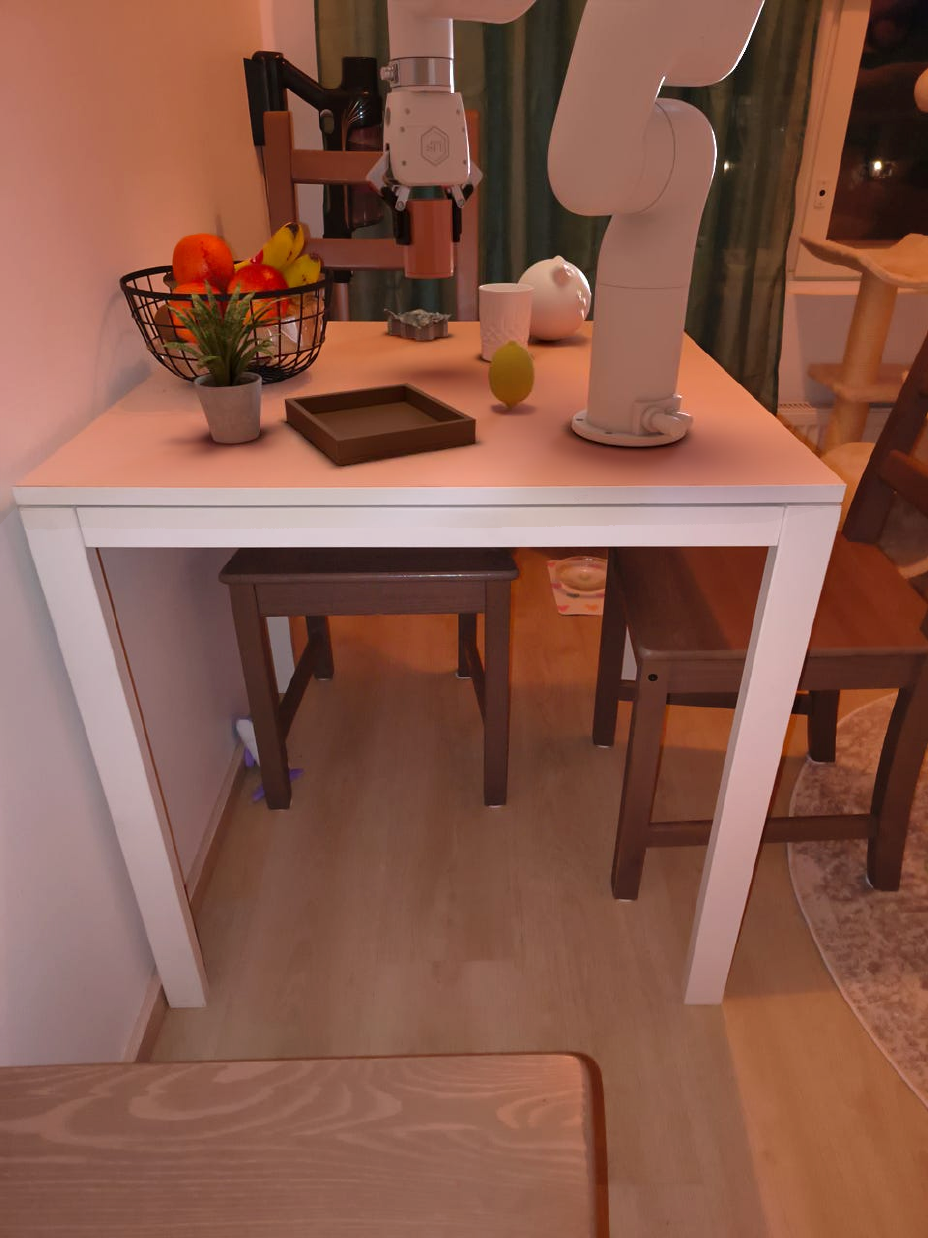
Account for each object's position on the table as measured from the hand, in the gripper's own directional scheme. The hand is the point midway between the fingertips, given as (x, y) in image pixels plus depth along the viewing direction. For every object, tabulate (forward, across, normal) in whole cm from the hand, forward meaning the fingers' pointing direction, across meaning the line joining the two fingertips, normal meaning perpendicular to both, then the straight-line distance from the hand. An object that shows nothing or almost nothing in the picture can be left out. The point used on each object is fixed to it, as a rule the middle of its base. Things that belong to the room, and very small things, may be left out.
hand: (428, 241), depth 108 cm
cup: (+4, 0, 0) cm, 4 cm away
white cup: (+17, +14, +4) cm, 22 cm away
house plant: (+17, -32, -16) cm, 40 cm away
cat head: (+17, +27, +12) cm, 34 cm away
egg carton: (+17, +10, +26) cm, 32 cm away
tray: (+17, -17, -21) cm, 32 cm away
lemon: (+18, +1, -20) cm, 27 cm away
